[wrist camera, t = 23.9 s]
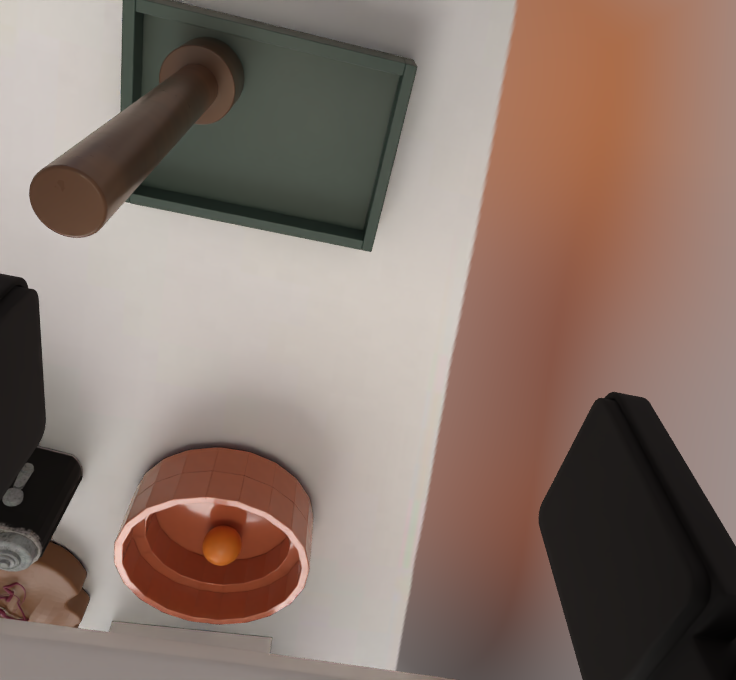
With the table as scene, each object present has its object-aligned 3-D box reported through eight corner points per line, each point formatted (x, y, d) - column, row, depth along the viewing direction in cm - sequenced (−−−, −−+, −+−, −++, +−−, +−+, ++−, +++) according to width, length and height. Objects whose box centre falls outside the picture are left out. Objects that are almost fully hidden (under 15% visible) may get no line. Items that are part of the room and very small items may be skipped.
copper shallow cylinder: (327, 458, 48) (324, 513, 43) (297, 574, 55) (292, 633, 50) (140, 428, 46) (115, 483, 41) (134, 553, 53) (112, 612, 48)
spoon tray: (414, 59, 33) (417, 66, 31) (370, 238, 38) (371, 252, 37) (135, -9, 31) (122, -6, 29) (129, 188, 36) (118, 201, 35)
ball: (217, 511, 50) (244, 529, 52) (191, 540, 50) (220, 557, 52) (224, 532, 48) (253, 550, 49) (197, 563, 48) (227, 580, 49)
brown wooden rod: (257, 66, 33) (161, 188, 17) (222, 125, 34) (103, 288, 18) (195, 20, 31) (25, 103, 15) (161, 83, 33) (-25, 217, 17)
